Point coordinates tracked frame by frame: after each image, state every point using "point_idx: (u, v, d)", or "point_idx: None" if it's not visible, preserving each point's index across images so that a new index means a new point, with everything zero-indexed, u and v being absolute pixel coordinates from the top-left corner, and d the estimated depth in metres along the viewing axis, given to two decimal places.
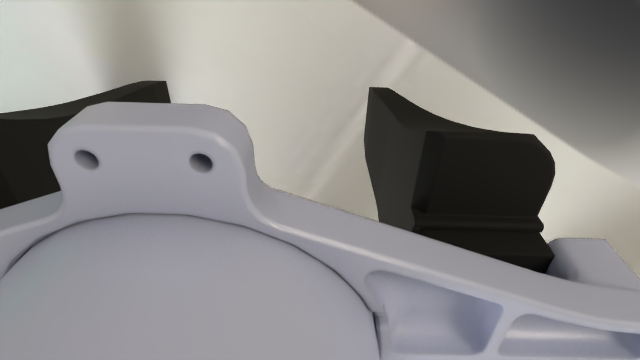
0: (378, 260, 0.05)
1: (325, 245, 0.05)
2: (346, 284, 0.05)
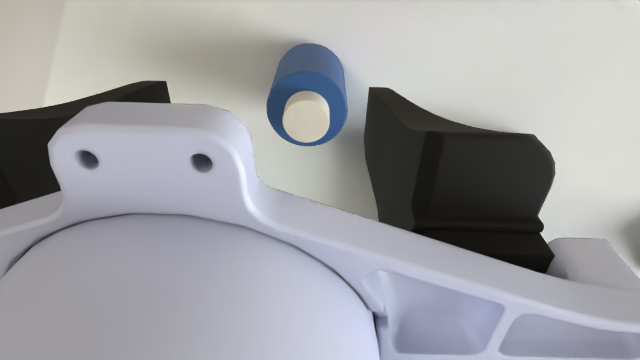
0: (378, 260, 0.05)
1: (325, 245, 0.05)
2: (346, 284, 0.05)
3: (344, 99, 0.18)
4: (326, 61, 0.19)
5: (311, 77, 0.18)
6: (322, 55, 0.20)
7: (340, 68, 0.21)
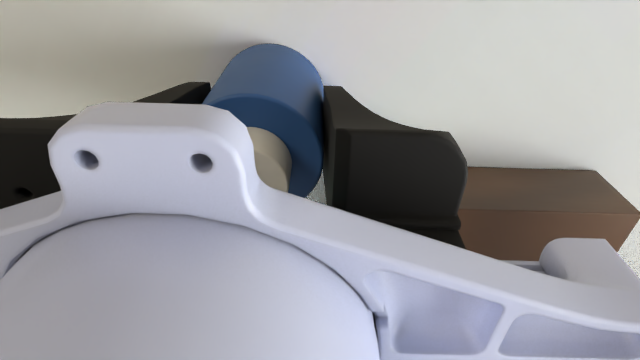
0: (378, 260, 0.05)
1: (325, 245, 0.05)
2: (346, 284, 0.05)
3: (316, 139, 0.10)
4: (288, 72, 0.12)
5: (254, 103, 0.10)
6: (282, 63, 0.12)
7: (315, 82, 0.13)
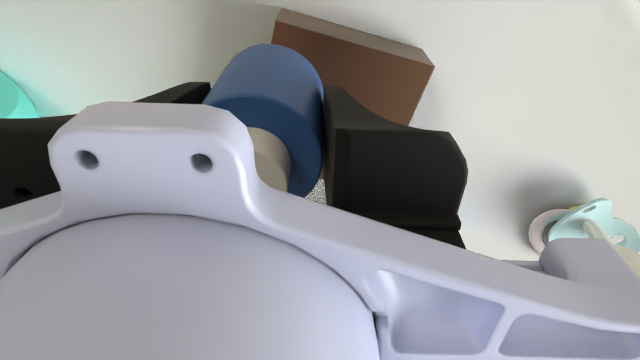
0: (378, 260, 0.05)
1: (325, 245, 0.05)
2: (346, 284, 0.05)
3: (315, 140, 0.10)
4: (288, 72, 0.12)
5: (254, 103, 0.10)
6: (282, 63, 0.12)
7: (315, 82, 0.13)
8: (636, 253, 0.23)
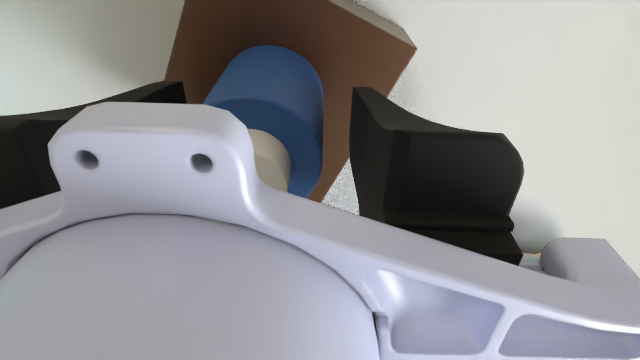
0: (378, 260, 0.05)
1: (325, 245, 0.05)
2: (346, 284, 0.05)
3: (315, 141, 0.10)
4: (287, 74, 0.12)
5: (254, 105, 0.10)
6: (281, 64, 0.12)
7: (314, 83, 0.13)
8: None
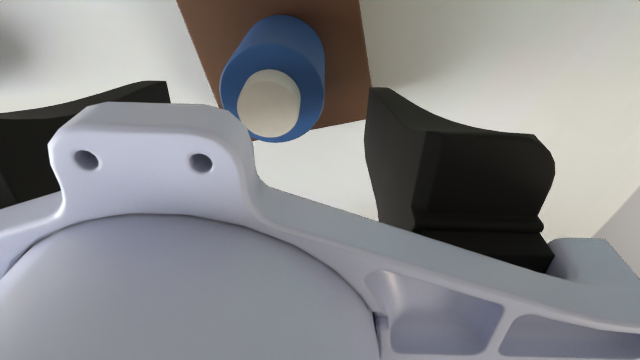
0: (378, 260, 0.05)
1: (325, 245, 0.05)
2: (346, 284, 0.05)
3: (250, 135, 0.15)
4: None
5: (297, 132, 0.15)
6: None
7: None
8: None
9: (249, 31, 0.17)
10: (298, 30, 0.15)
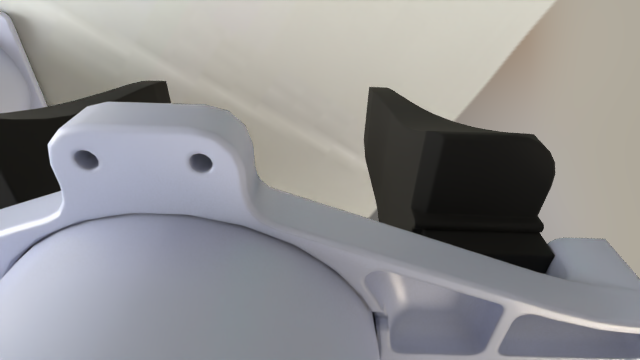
0: (378, 260, 0.05)
1: (325, 245, 0.05)
2: (346, 284, 0.05)
3: None
4: None
5: None
6: None
7: None
8: None
9: None
10: None
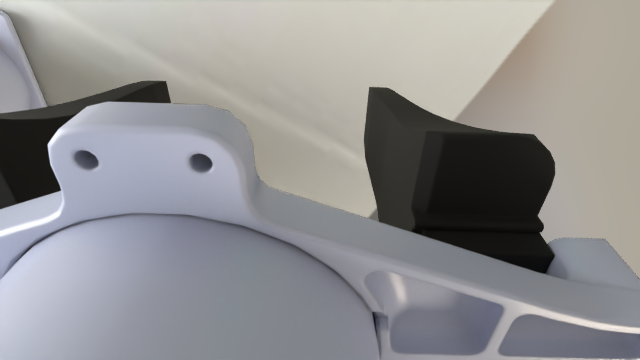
0: (378, 260, 0.05)
1: (325, 245, 0.05)
2: (346, 284, 0.05)
3: None
4: None
5: None
6: None
7: None
8: None
9: None
10: None
